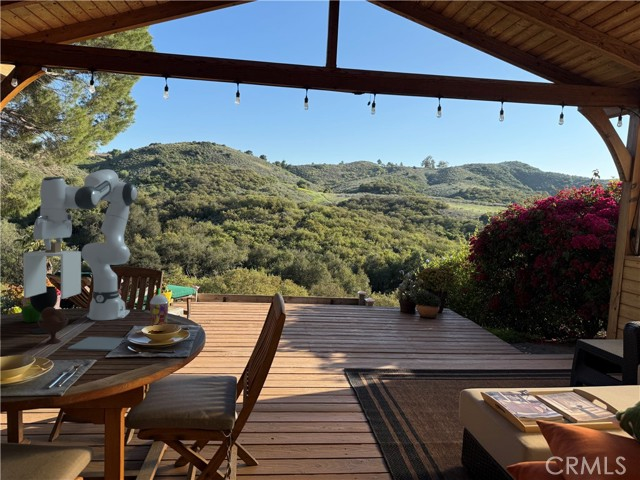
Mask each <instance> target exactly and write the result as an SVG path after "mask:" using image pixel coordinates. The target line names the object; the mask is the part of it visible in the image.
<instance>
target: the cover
mask: <svg viewBox="0 0 640 480" xmlns="http://www.w3.org/2000/svg"><path fill="white" fill-rule="evenodd" d="M50 243H51V246H52V250H46V245H45V244H44V246H45V247H44V248H45V250H35V251H29V252H23V257H22V258H23V298H24V299H27V298H30V296H34V295H38V294H41V293H45V292H46V286H47V257H59V258H60V300H62V299H63V300H64V299H67V298H69V297H73V296H76V295H79V294H81V292H82V251H76V250H73V251H71V250H62V243H61V242H56V241H53V242H52V241H51V242H50Z"/></svg>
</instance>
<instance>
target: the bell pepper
mask: <svg viewBox="0 0 640 480" xmlns="http://www.w3.org/2000/svg"><path fill="white" fill-rule="evenodd" d="M25 304H26V305H25V306H22V308H21V315H22V318H23V321H24V322H25V323H27V324H30V323H38V322H37V321H39V320H41V319H42V316H41V313H40V312H38V311H36V310H35V309H34V308H33V307H32V305H31V302H30V301H27V302H25Z"/></svg>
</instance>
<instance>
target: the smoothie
mask: <svg viewBox="0 0 640 480" xmlns="http://www.w3.org/2000/svg"><path fill="white" fill-rule="evenodd" d="M169 302H170V301H169V300H168V297H167V296H165V295H164V294H161V288H158V294H155V295H154V296H152V298H151V300H150V301H149V308H150V309H149V311H150V327H151V326H153V325H162V324H167V325H168V316H169V314H168V313H169Z"/></svg>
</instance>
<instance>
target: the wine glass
mask: <svg viewBox="0 0 640 480" xmlns="http://www.w3.org/2000/svg"><path fill="white" fill-rule="evenodd" d="M29 298H30V299H29V302H31V305H32V307H33V308H34V309H35V310H36V311H38V312H40V313H41V312H42V311H43V310H44V309H45V308H47V307H54V308H55V306H56V305H57V302H58V293H57V288H56V286H54V285H53V286H52V285H46V292H45V293H41V294H38V295H34V296H30V297H29ZM30 334H32V335H45V334H48V333H47V332H45V331H43V330H42V329H41V328H40V327H38V328H34V329H31V330H30Z"/></svg>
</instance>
